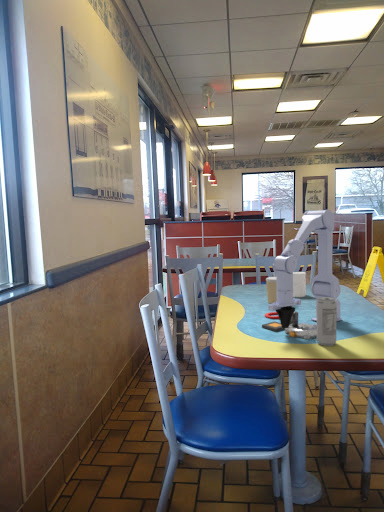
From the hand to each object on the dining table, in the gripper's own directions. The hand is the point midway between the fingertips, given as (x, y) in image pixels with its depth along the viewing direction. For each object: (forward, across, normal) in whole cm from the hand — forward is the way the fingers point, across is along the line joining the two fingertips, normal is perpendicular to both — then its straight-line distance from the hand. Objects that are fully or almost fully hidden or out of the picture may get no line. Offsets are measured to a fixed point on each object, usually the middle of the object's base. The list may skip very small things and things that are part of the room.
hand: (285, 327), depth 132 cm
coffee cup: (+3, +34, +36) cm, 50 cm away
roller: (+2, +11, +8) cm, 13 cm away
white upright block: (+3, +54, +40) cm, 67 cm away
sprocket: (+2, +6, -4) cm, 8 cm away
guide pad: (+2, +3, +8) cm, 8 cm away
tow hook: (+3, +15, +18) cm, 24 cm away
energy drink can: (+3, +2, -15) cm, 16 cm away
